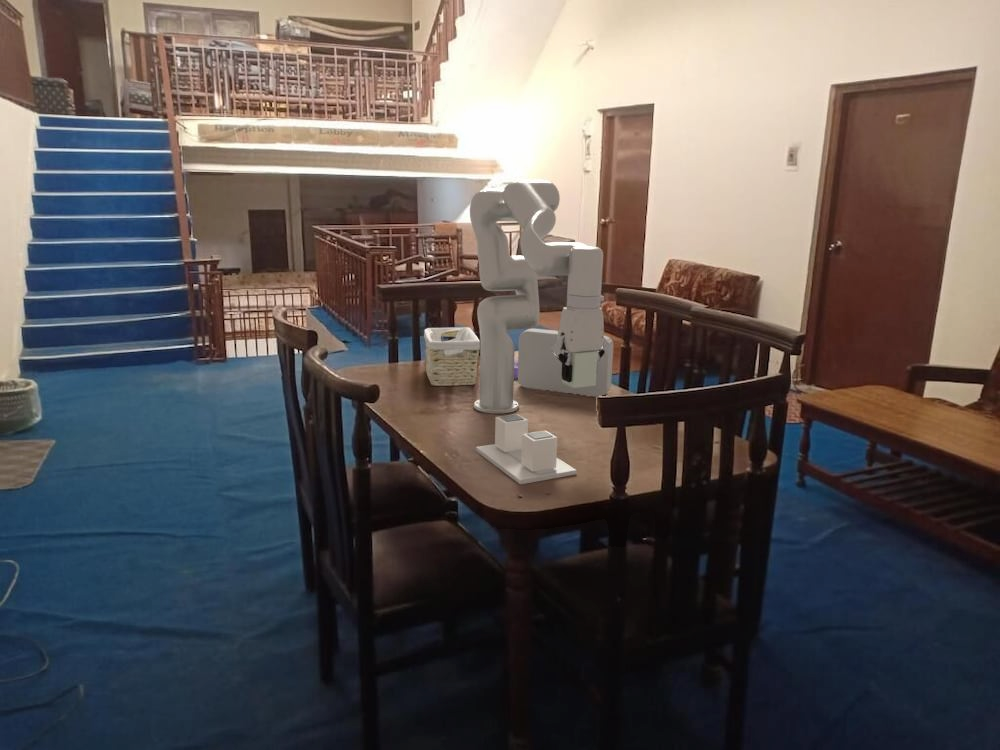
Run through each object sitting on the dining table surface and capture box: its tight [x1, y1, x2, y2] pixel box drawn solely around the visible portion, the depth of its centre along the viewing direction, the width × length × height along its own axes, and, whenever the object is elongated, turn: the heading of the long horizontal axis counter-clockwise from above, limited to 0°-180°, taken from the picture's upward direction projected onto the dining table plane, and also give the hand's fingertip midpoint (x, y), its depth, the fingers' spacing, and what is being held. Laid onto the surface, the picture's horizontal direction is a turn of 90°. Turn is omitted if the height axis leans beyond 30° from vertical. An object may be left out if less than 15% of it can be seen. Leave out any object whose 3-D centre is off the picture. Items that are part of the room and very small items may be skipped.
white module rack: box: [475, 413, 577, 485], centre depth 166 cm, size 22×14×9 cm, turn 27°
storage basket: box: [423, 326, 480, 387], centre depth 237 cm, size 24×16×15 cm
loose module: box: [562, 351, 598, 388], centre depth 169 cm, size 5×6×8 cm
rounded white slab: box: [517, 327, 615, 398], centre depth 226 cm, size 29×8×18 cm, turn 67°
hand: (579, 378), depth 169 cm, fingers closed on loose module, 6 cm apart
